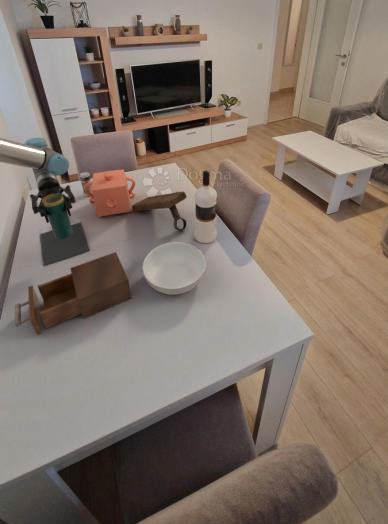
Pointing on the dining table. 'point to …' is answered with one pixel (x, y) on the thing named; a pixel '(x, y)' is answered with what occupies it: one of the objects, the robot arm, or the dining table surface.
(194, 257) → the serving bowl
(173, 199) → the bottle opener
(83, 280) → the cabinet
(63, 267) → the dining table surface
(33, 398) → the dining table surface
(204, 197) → the vodka
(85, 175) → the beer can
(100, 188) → the orange box
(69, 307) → the drawer
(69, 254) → the mat
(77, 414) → the dining table surface
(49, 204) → the tin
